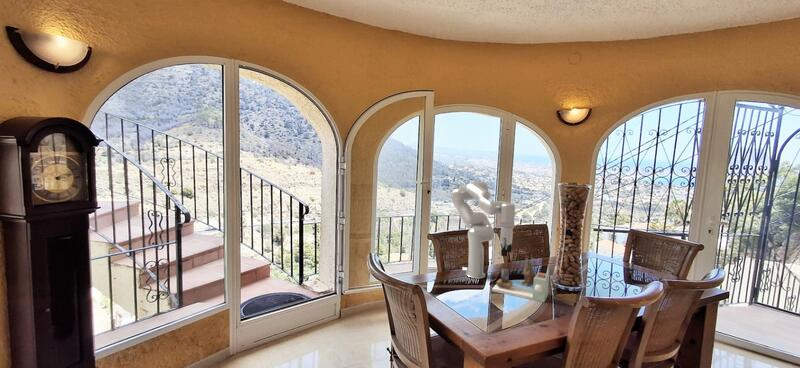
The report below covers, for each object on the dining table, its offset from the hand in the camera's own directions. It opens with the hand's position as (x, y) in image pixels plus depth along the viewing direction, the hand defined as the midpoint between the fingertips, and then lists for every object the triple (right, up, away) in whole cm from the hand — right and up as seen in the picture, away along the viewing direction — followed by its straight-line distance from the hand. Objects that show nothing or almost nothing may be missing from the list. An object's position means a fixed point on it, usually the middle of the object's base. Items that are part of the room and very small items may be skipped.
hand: (506, 254), depth 219 cm
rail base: (+5, -22, 0) cm, 22 cm away
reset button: (+17, -12, -9) cm, 23 cm away
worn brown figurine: (+18, -21, +13) cm, 31 cm away
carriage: (0, -19, +2) cm, 19 cm away
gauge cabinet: (+17, -23, -8) cm, 29 cm away
